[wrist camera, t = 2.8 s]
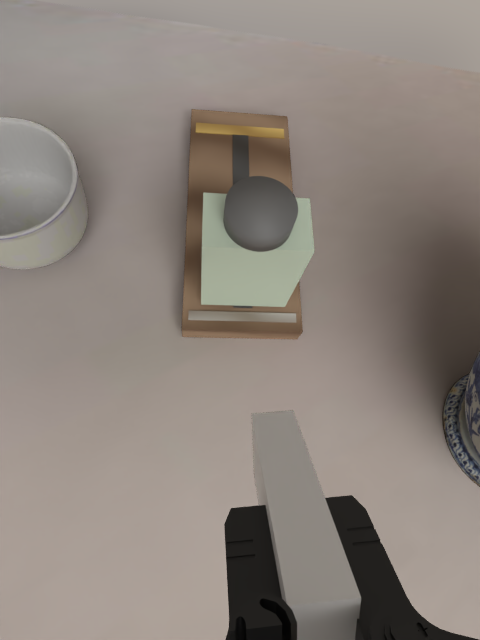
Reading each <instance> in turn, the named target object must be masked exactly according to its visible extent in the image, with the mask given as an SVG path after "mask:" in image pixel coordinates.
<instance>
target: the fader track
mask: <svg viewBox="0 0 480 640" xmlns="http://www.w3.org/2000/svg"><path fill="white" fill-rule="evenodd" d="M251 176H265V177H270V178H273V179H276V180H278V181H280V182H281V183H283V184H284V185H286V186H287V187H288V188H289V189H290V190H291V191H292V193H293V189H292V175H291V161H290V147H289V133H288V119H287V116H274V115H261V114H248V113H235V112H222V111H209V110H196V109H192V114H191V136H190V159H189V181H188V203H187V225H186V247H185V269H184V291H183V313H182V335H183V337H212V338H259V339H298V337H299V336H300V335H301V333H302V332H303V330H302V316H301V302H300V288H299V282H298V283H297V285H296V287H295V289H294V291H293V293H292V295H291V297H290V298H289V300H288V302H287V304H286V306H285V307H268V306H234V305H201V270H202V222H203V193H221V194H227V193H228V191H229V189H230V188H231V187H232V186H233V185H234V184H235V183H236V182H238V181H240V180H242V179H244V178H247V177H251Z"/></svg>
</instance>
